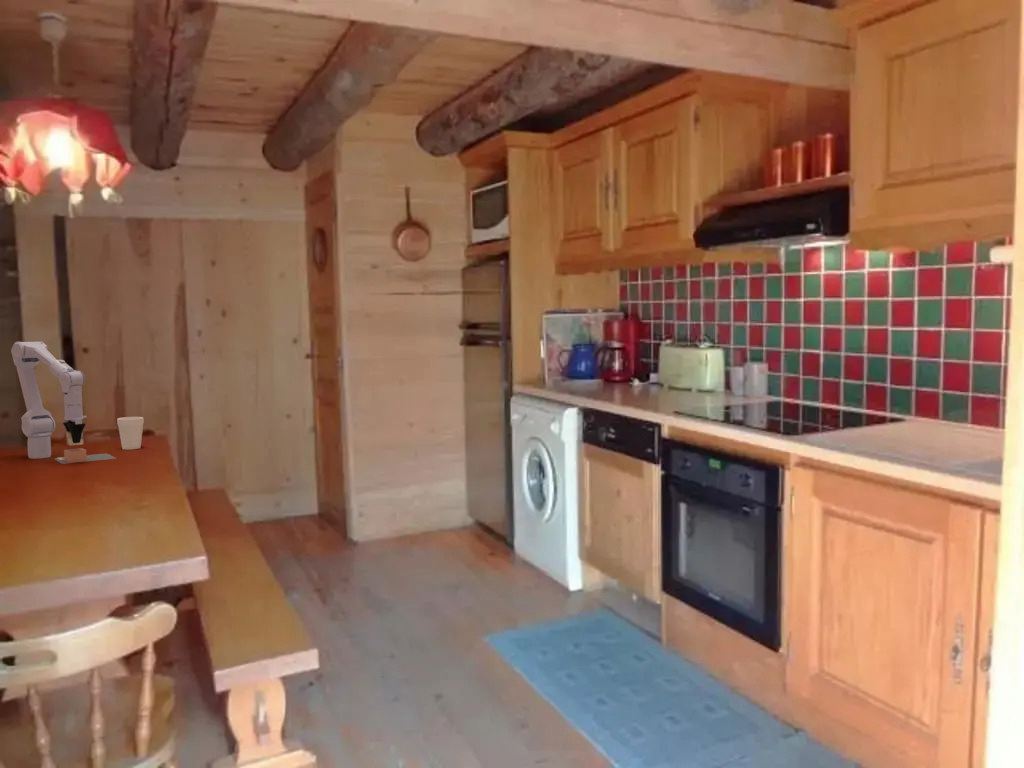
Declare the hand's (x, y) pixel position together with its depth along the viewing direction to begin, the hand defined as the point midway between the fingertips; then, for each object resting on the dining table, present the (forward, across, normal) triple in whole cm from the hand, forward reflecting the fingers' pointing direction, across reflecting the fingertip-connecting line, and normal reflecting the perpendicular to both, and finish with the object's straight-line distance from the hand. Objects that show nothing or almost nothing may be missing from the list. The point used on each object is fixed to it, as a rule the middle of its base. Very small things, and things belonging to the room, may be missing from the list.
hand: (74, 442), depth 288 cm
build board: (+8, +4, -4) cm, 10 cm away
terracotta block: (+7, 0, 0) cm, 7 cm away
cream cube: (+1, 0, 0) cm, 1 cm away
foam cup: (+8, +18, -24) cm, 31 cm away
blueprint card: (+7, +8, 0) cm, 10 cm away
